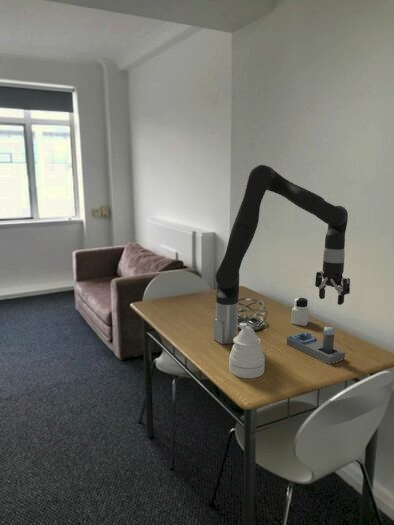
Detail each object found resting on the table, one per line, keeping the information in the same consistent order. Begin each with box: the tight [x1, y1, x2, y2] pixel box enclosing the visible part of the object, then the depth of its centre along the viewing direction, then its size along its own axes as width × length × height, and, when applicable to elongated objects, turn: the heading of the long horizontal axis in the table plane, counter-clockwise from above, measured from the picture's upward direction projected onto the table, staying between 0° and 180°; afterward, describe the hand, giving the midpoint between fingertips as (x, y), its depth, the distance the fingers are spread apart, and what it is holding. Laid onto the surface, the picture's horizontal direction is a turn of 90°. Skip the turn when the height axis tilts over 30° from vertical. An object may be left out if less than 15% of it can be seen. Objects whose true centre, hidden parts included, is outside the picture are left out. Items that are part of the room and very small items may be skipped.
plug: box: [322, 326, 336, 355], centre depth 164 cm, size 4×4×12 cm
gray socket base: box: [286, 331, 346, 365], centre depth 170 cm, size 23×9×5 cm, turn 32°
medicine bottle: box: [290, 297, 310, 327], centre depth 201 cm, size 7×7×12 cm
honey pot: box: [228, 322, 266, 379], centre depth 154 cm, size 13×13×18 cm
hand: (331, 301), depth 162 cm, fingers open, 8 cm apart
